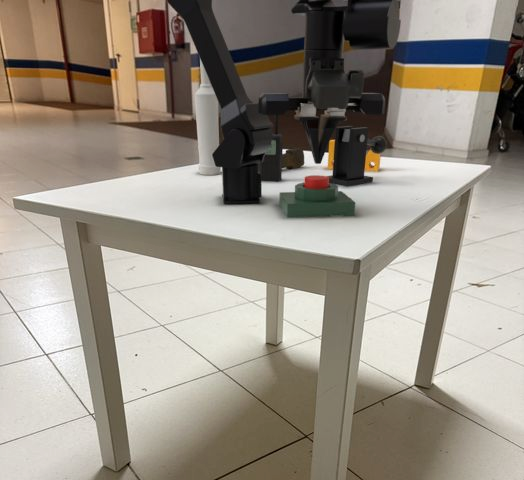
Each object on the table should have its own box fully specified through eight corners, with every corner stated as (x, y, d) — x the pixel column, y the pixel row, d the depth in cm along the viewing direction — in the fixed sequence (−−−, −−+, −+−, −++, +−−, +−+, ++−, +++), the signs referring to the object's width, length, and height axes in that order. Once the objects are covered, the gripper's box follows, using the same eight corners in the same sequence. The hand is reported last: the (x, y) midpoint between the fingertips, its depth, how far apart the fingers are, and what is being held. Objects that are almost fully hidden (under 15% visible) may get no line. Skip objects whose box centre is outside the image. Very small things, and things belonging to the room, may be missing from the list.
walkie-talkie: (258, 181, 106) (258, 103, 99) (262, 178, 109) (262, 103, 102) (280, 182, 105) (281, 104, 98) (283, 179, 108) (285, 103, 101)
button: (306, 191, 80) (307, 179, 79) (302, 186, 83) (302, 175, 82) (331, 190, 80) (331, 179, 79) (325, 185, 84) (326, 175, 83)
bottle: (222, 171, 118) (218, 48, 106) (218, 175, 113) (213, 47, 101) (201, 171, 118) (194, 48, 106) (196, 175, 114) (189, 47, 102)
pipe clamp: (379, 169, 121) (382, 140, 118) (377, 171, 118) (380, 142, 114) (330, 166, 124) (332, 139, 121) (327, 169, 121) (329, 140, 117)
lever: (374, 154, 110) (379, 137, 109) (387, 156, 107) (392, 138, 106) (338, 144, 102) (342, 125, 101) (351, 146, 100) (355, 126, 98)
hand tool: (257, 177, 111) (257, 155, 109) (245, 174, 114) (245, 153, 112) (312, 168, 123) (313, 148, 121) (299, 166, 125) (300, 146, 123)
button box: (287, 217, 79) (287, 192, 77) (279, 205, 87) (279, 181, 85) (354, 216, 80) (356, 190, 78) (340, 203, 88) (342, 180, 86)
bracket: (348, 178, 110) (352, 125, 105) (372, 183, 105) (378, 127, 100) (322, 182, 106) (325, 127, 101) (346, 187, 101) (351, 129, 96)
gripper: (267, 47, 64) (266, 173, 72) (405, 48, 66) (390, 170, 74) (258, 51, 74) (258, 161, 82) (378, 52, 76) (368, 159, 84)
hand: (317, 163), depth 80 cm, fingers closed
